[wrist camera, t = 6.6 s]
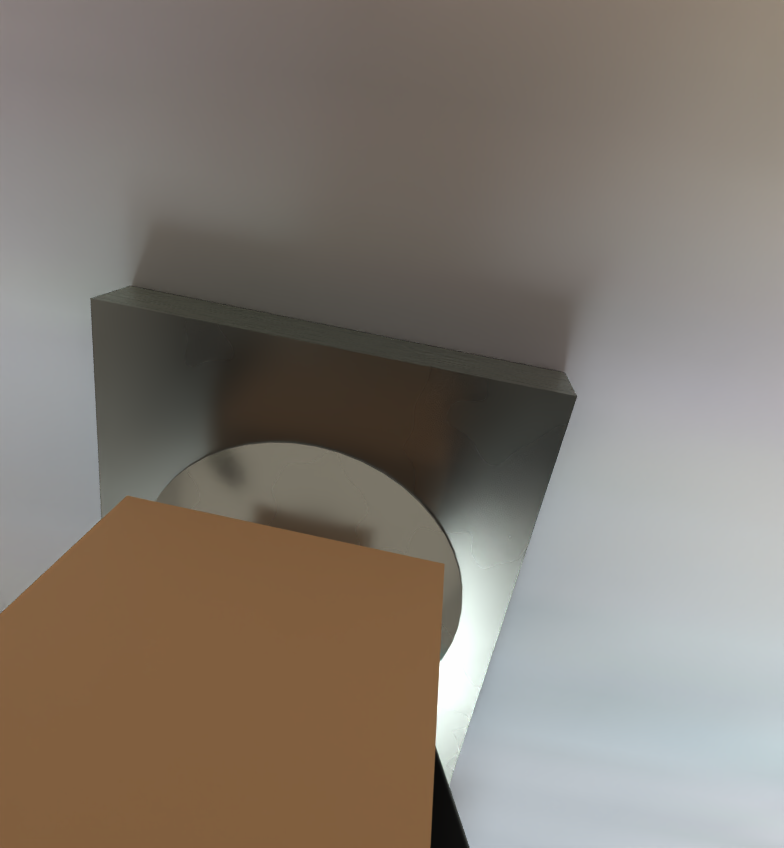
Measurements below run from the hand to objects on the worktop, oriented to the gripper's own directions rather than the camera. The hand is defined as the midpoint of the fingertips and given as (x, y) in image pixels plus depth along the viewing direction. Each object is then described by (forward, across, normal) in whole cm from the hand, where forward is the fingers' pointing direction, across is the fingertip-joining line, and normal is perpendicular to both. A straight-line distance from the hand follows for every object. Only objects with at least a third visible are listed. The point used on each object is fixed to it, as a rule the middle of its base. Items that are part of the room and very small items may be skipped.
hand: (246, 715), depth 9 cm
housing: (+1, 0, 0) cm, 1 cm away
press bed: (+4, 0, 0) cm, 4 cm away
